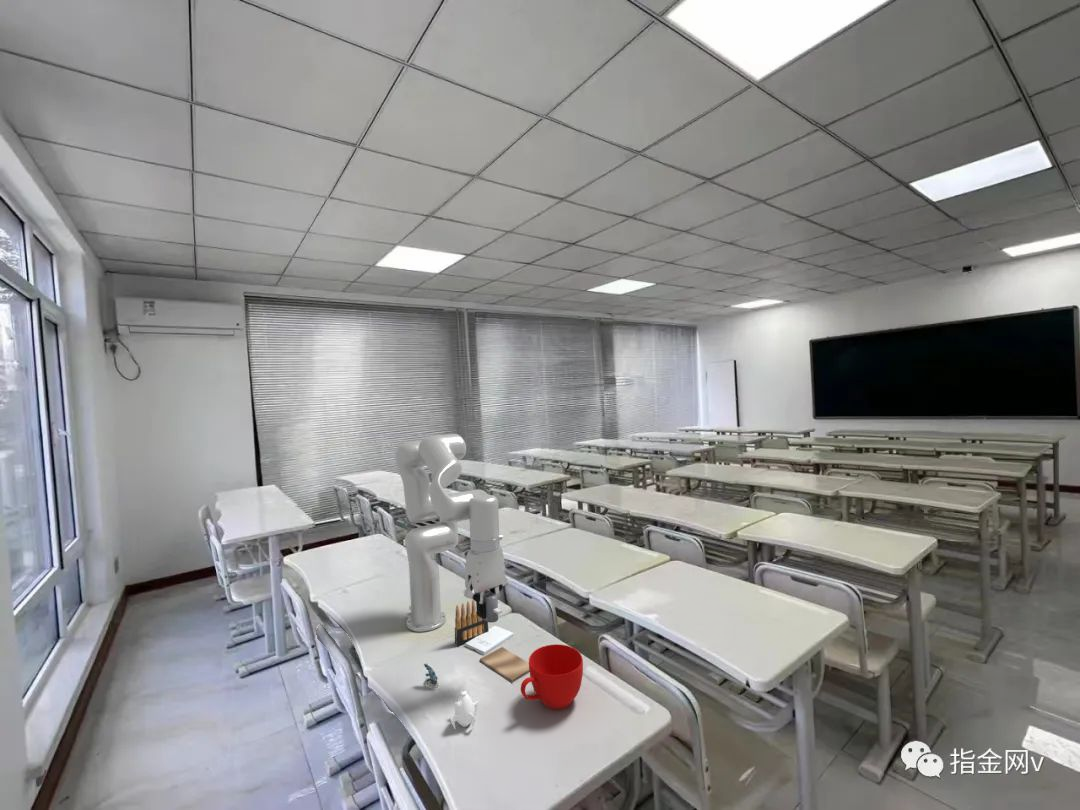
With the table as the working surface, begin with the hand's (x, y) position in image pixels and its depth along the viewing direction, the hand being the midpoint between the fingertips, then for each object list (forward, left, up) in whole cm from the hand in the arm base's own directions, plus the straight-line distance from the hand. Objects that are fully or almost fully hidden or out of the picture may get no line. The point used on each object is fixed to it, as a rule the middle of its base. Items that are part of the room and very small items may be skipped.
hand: (487, 613), depth 116 cm
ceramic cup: (+18, +4, -17) cm, 25 cm away
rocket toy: (+8, -14, -18) cm, 24 cm away
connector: (0, 0, -1) cm, 1 cm away
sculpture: (-10, -11, -18) cm, 24 cm away
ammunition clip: (-20, +8, -18) cm, 28 cm away
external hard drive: (-15, +11, -18) cm, 26 cm away
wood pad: (-2, +7, -17) cm, 19 cm away
